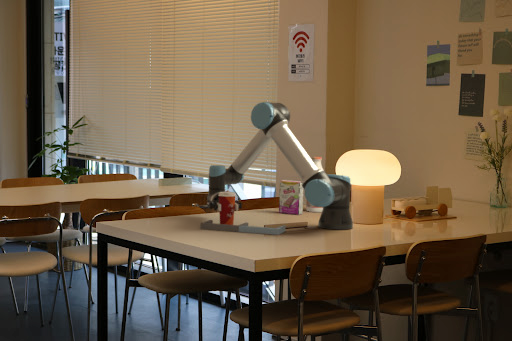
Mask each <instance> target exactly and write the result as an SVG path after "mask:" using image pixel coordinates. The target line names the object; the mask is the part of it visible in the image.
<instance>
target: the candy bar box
mask: <svg viewBox="0 0 512 341" xmlns="http://www.w3.org/2000/svg"><path fill="white" fill-rule="evenodd" d="M278 198H279V199H278V200H279V201H278V202H279V204H278V213H279V214H285V215H286V214H287V215H297V216H300V215H303V212H304V211H303V207H304V206H303V205H304V188H303V187H302V180H301V181H298V180H289V179H282V180H280V181H279V197H278Z"/></svg>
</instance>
